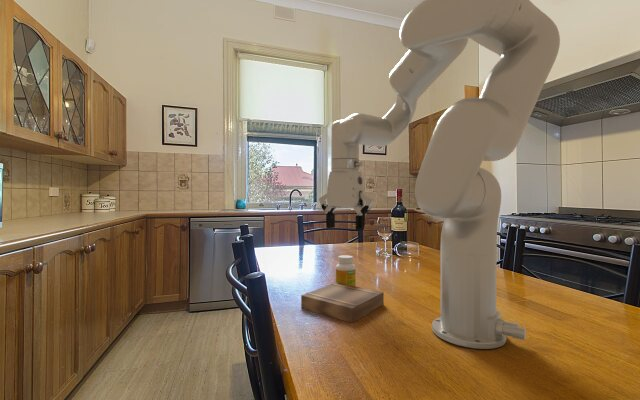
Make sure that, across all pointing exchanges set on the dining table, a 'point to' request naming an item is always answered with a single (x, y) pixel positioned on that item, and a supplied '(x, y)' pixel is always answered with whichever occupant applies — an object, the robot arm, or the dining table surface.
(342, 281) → the supplement bottle
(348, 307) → the walnut board
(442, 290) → the robot arm
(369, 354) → the dining table surface
